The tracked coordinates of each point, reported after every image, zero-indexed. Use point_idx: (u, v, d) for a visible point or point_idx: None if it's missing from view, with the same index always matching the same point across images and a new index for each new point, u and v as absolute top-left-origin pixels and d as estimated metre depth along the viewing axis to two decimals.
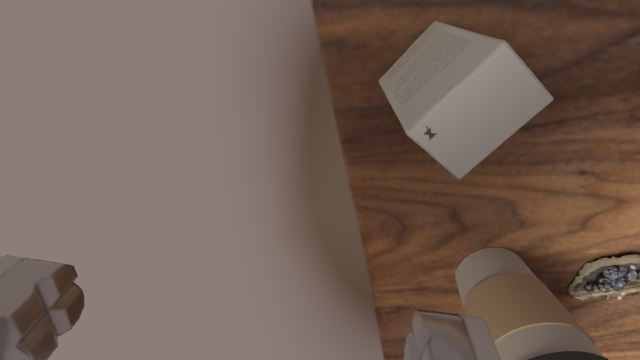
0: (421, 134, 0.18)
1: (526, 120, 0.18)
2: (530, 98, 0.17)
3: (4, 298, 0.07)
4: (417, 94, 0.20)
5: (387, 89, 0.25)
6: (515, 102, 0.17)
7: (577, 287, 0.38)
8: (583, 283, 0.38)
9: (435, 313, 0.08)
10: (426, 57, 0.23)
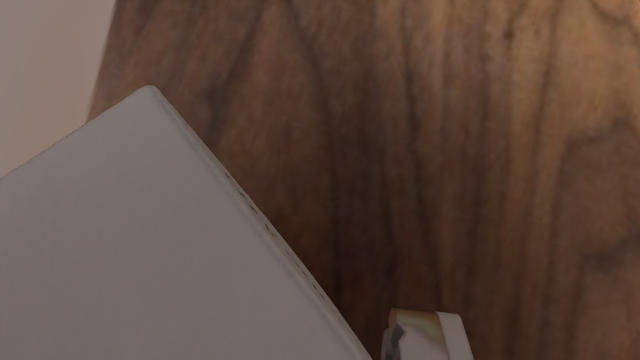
0: None
1: (206, 179, 0.04)
2: (110, 169, 0.04)
3: None
4: None
5: None
6: (107, 228, 0.04)
7: None
8: None
9: (410, 310, 0.08)
10: None
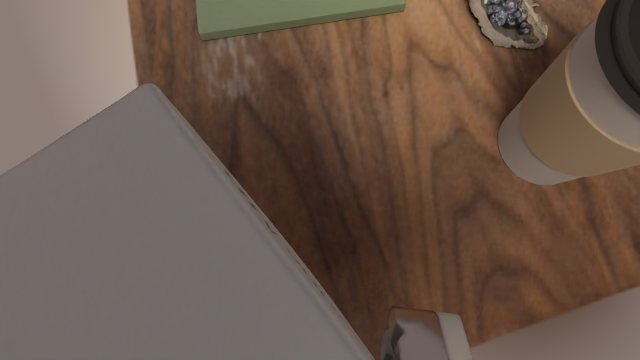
0: None
1: (207, 176, 0.04)
2: (110, 167, 0.04)
3: None
4: None
5: None
6: (108, 226, 0.04)
7: (530, 40, 0.32)
8: (523, 37, 0.32)
9: (410, 310, 0.08)
10: None
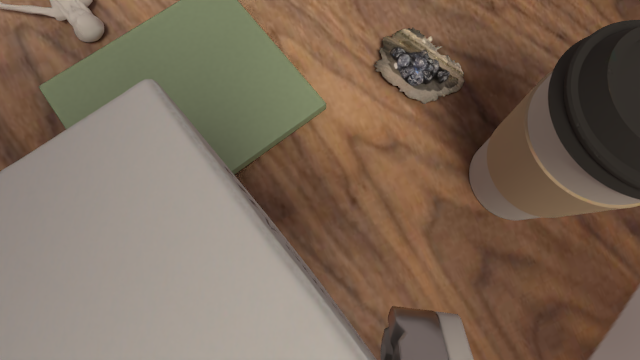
0: None
1: (206, 172, 0.04)
2: (109, 163, 0.04)
3: None
4: None
5: None
6: (107, 222, 0.04)
7: (452, 83, 0.32)
8: (444, 84, 0.32)
9: (410, 310, 0.08)
10: None
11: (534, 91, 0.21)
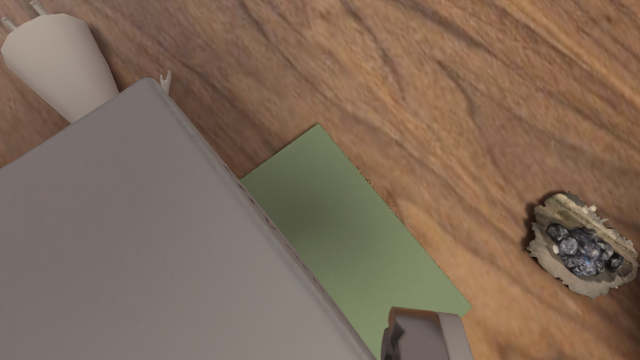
0: None
1: (206, 171, 0.04)
2: (108, 161, 0.04)
3: None
4: None
5: None
6: (106, 221, 0.04)
7: (625, 270, 0.25)
8: (616, 272, 0.25)
9: (410, 310, 0.08)
10: None
11: None
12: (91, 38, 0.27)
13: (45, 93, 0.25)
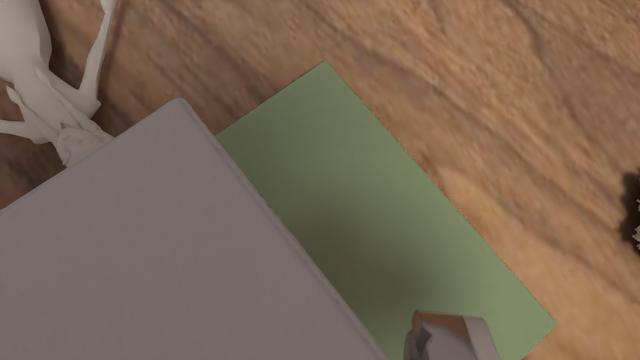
0: None
1: (232, 181, 0.05)
2: (146, 172, 0.05)
3: None
4: None
5: None
6: (147, 224, 0.04)
7: None
8: None
9: (435, 313, 0.08)
10: None
11: None
12: None
13: None
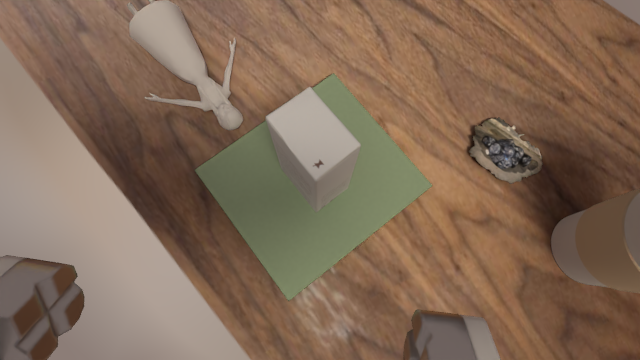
0: (318, 169, 0.25)
1: (321, 101, 0.26)
2: (305, 100, 0.26)
3: (4, 298, 0.07)
4: (302, 174, 0.28)
5: (313, 202, 0.32)
6: (307, 108, 0.26)
7: (533, 166, 0.38)
8: (527, 167, 0.38)
9: (435, 313, 0.08)
10: (291, 170, 0.32)
11: (628, 205, 0.27)
12: (183, 17, 0.40)
13: (157, 52, 0.38)
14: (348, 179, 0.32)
